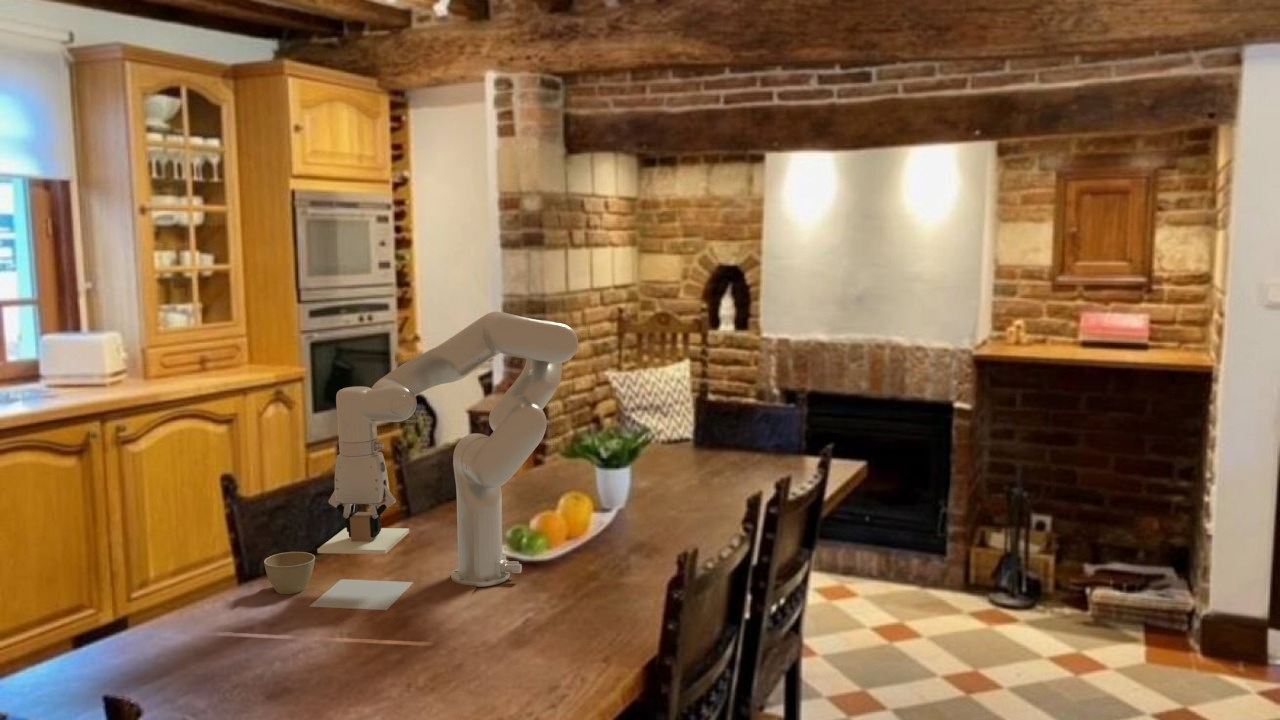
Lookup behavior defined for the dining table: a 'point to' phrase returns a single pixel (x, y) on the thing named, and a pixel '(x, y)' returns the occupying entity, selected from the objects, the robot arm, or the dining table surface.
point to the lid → (363, 538)
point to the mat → (362, 594)
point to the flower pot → (289, 571)
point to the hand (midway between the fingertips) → (364, 534)
